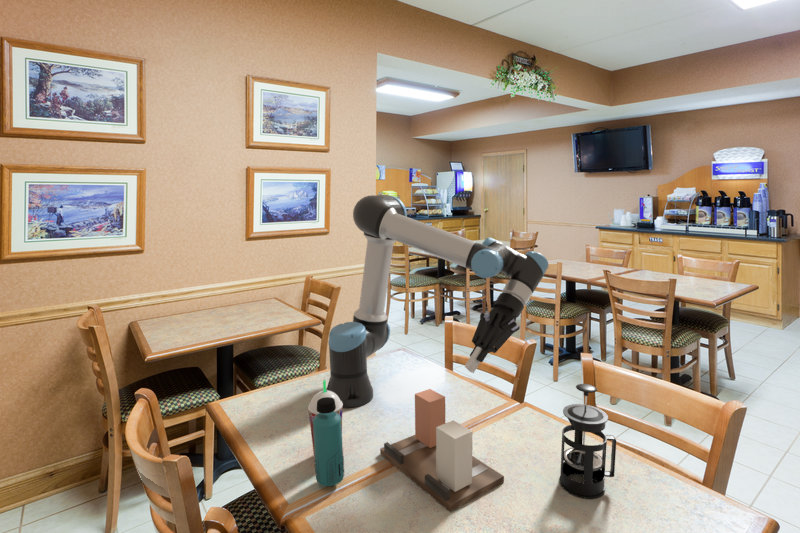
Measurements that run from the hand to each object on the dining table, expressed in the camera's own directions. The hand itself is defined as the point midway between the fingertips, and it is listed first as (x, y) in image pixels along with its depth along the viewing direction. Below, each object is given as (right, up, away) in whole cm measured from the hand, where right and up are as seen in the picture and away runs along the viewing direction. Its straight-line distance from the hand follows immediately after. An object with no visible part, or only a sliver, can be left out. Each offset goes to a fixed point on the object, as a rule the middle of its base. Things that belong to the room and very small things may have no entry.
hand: (469, 369), depth 119 cm
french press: (+22, -21, -20) cm, 37 cm away
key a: (-7, -19, -21) cm, 29 cm away
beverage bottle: (-34, -22, -18) cm, 44 cm away
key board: (-9, -20, -13) cm, 26 cm away
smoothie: (-36, -20, -8) cm, 42 cm away
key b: (-11, -17, -5) cm, 20 cm away
